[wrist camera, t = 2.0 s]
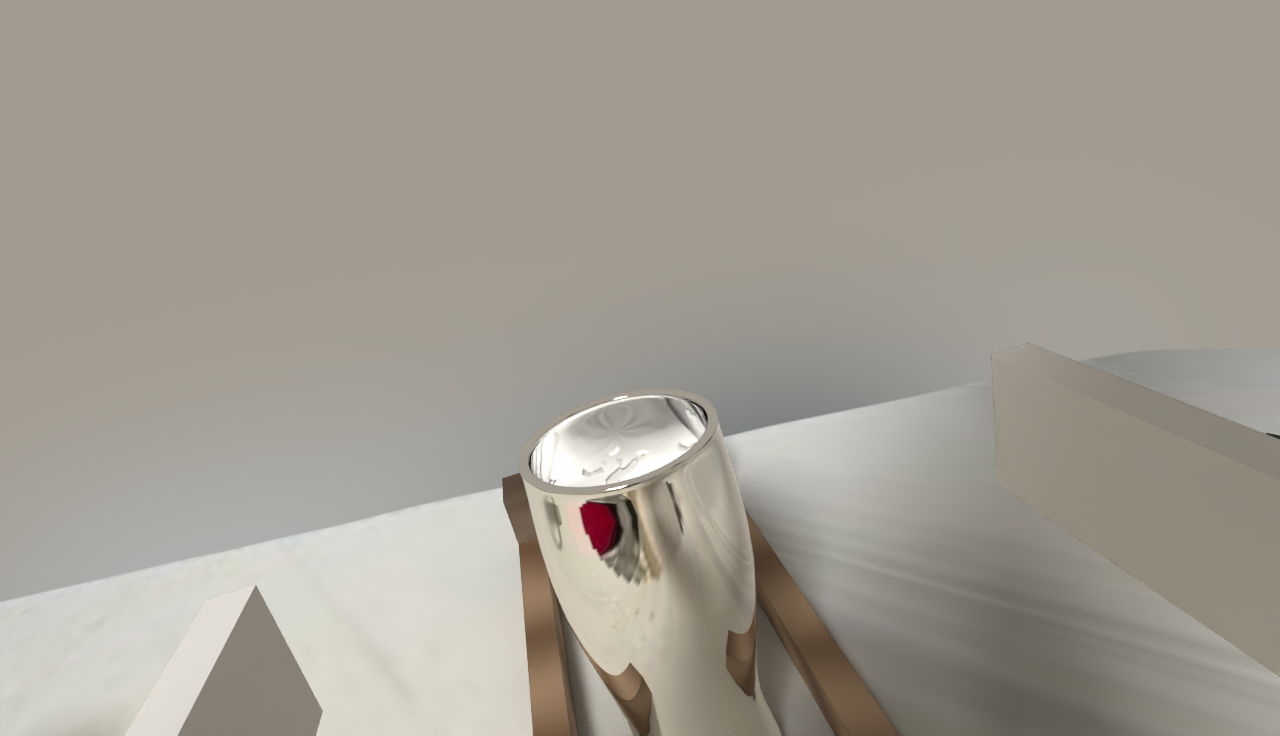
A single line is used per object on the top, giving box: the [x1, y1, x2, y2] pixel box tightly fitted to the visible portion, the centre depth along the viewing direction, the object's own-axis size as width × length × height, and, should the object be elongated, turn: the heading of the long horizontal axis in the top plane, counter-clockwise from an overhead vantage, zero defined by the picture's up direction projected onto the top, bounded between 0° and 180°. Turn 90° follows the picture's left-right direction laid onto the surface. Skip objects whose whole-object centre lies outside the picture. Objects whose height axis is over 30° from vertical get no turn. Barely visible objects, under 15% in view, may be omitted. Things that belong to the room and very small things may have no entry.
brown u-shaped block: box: [502, 473, 899, 736], centre depth 34 cm, size 24×13×5 cm, turn 12°
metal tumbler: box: [518, 389, 782, 736], centre depth 25 cm, size 7×7×15 cm
